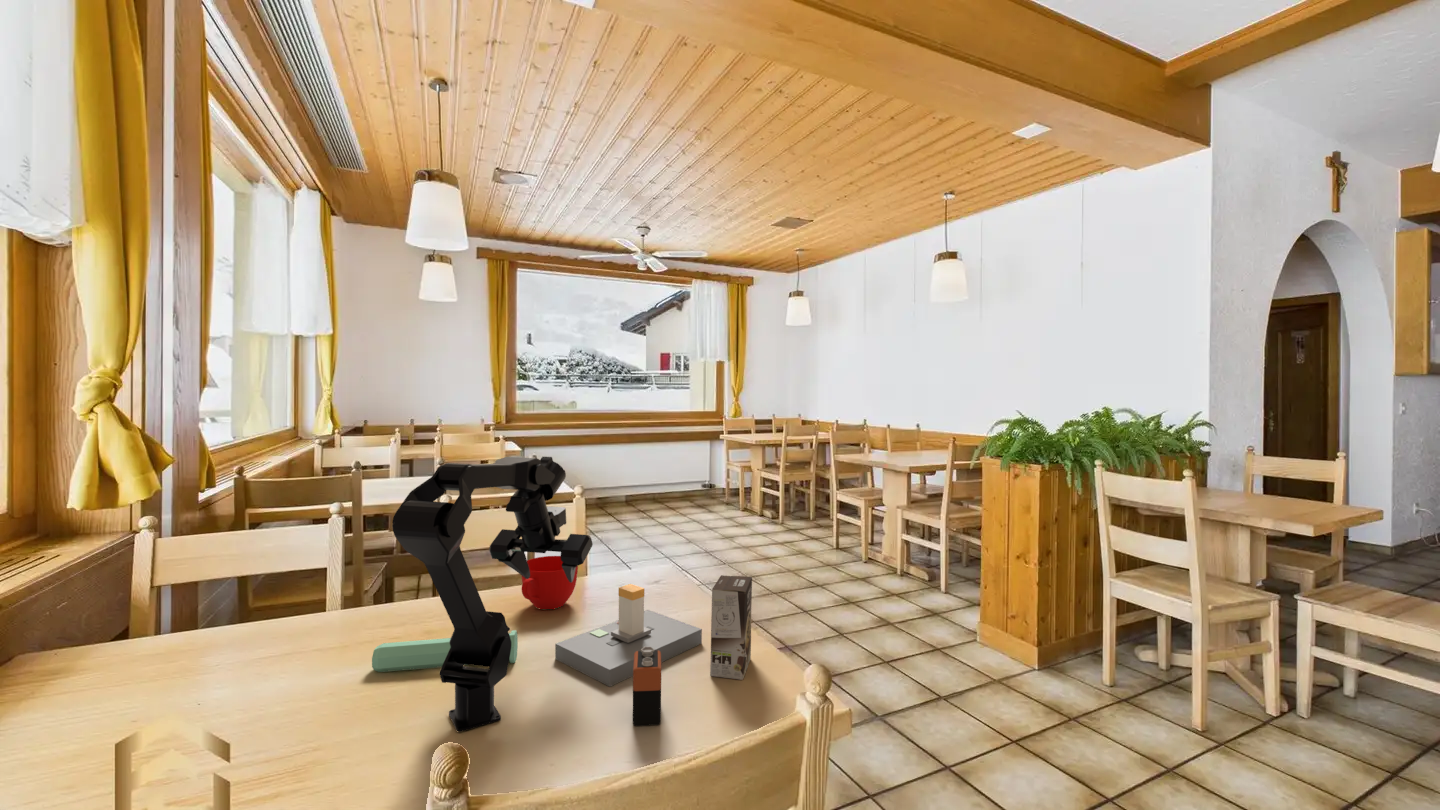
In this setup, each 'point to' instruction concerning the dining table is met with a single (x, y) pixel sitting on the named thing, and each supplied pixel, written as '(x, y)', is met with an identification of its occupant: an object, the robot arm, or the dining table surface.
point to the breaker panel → (625, 647)
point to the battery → (647, 687)
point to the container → (420, 654)
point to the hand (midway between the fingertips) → (550, 579)
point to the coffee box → (731, 626)
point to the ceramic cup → (547, 583)
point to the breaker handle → (631, 614)
